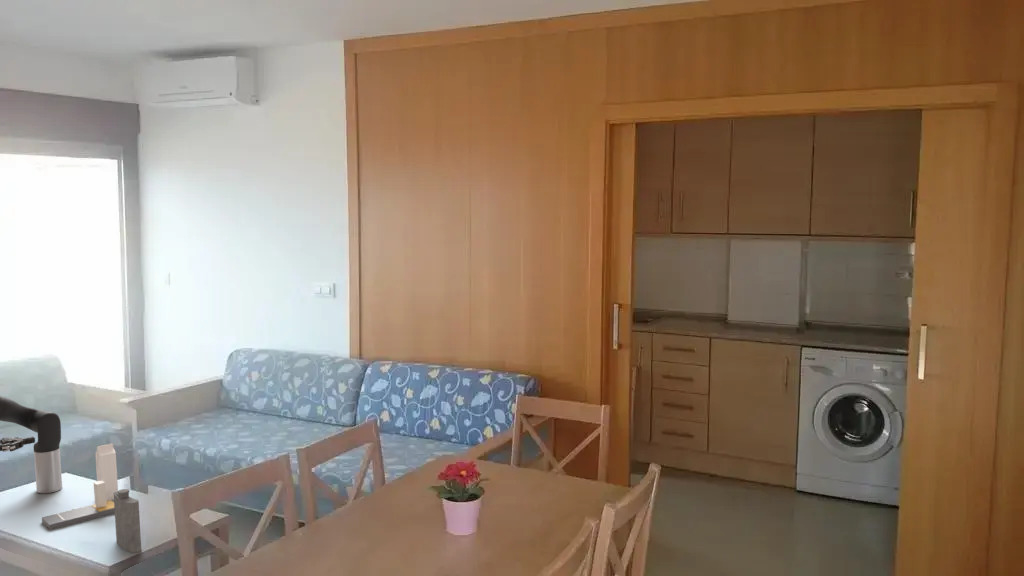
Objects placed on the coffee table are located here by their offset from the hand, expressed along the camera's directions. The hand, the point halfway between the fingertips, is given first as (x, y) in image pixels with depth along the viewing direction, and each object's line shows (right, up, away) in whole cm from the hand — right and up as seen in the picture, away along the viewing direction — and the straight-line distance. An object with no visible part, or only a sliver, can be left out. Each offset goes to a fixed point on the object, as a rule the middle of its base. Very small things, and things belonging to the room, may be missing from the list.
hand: (34, 439), depth 302 cm
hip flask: (+47, -32, -24) cm, 62 cm away
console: (+17, -30, +3) cm, 34 cm away
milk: (+17, -28, +22) cm, 39 cm away
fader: (+21, -27, +7) cm, 35 cm away
